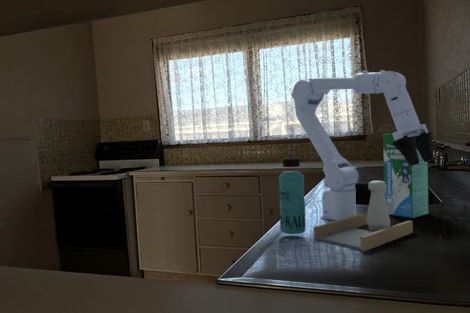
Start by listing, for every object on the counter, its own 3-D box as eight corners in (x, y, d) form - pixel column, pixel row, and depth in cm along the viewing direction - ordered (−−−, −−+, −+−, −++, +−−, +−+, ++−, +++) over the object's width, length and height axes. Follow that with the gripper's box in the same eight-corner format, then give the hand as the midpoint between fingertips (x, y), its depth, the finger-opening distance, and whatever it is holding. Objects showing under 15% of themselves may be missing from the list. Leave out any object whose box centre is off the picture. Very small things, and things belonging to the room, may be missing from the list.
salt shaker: (392, 234, 94) (391, 182, 94) (368, 233, 95) (367, 182, 95) (387, 228, 100) (386, 179, 99) (365, 228, 101) (364, 179, 100)
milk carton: (428, 213, 115) (427, 131, 114) (412, 218, 110) (410, 132, 109) (401, 209, 123) (399, 132, 121) (384, 213, 118) (382, 133, 116)
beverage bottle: (287, 232, 100) (284, 157, 99) (310, 235, 96) (308, 157, 95) (275, 238, 95) (272, 158, 94) (299, 241, 91) (296, 158, 90)
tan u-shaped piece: (314, 239, 93) (313, 226, 93) (363, 224, 106) (363, 213, 106) (364, 251, 82) (364, 237, 82) (412, 232, 95) (412, 220, 94)
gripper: (403, 109, 92) (423, 162, 90) (430, 106, 101) (449, 154, 99) (378, 120, 98) (397, 170, 95) (406, 116, 107) (424, 162, 104)
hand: (422, 162), depth 98 cm, fingers open, 7 cm apart
